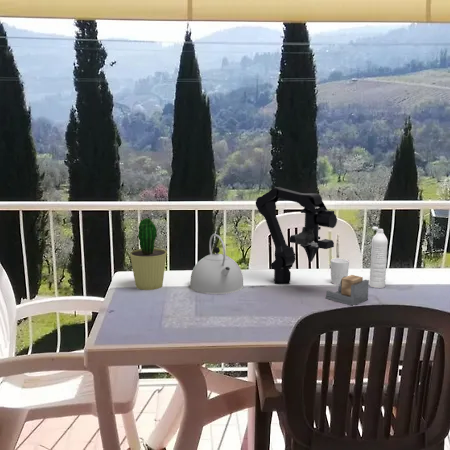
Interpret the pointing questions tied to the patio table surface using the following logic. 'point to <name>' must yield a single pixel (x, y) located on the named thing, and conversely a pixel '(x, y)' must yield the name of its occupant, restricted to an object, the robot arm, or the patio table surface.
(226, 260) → the kettle
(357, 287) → the grey open holder
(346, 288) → the tan box
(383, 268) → the water bottle
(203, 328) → the patio table surface
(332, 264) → the white cup
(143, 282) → the potted cactus
